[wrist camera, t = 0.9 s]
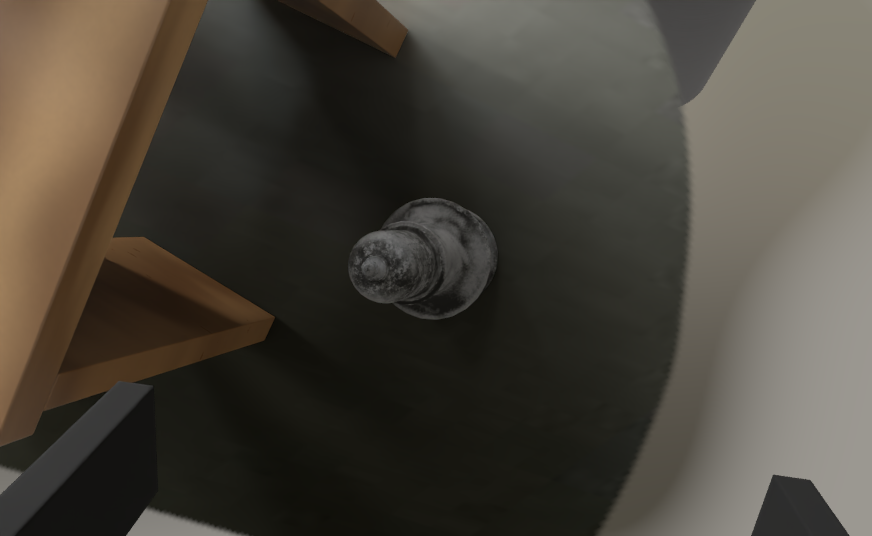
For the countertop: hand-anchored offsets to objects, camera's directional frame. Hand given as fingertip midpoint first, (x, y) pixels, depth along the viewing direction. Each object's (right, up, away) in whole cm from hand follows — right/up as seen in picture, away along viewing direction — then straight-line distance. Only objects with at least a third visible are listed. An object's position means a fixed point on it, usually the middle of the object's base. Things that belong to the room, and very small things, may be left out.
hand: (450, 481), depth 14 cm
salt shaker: (0, +5, +21) cm, 22 cm away
